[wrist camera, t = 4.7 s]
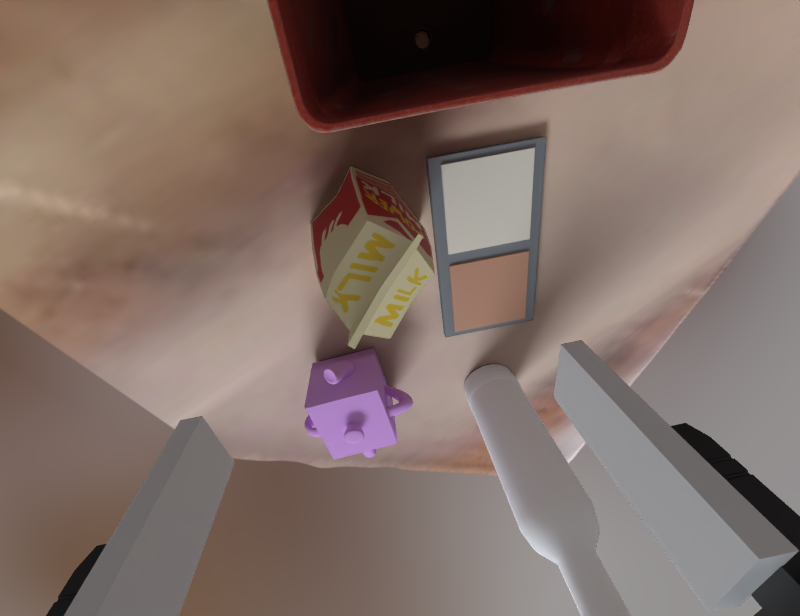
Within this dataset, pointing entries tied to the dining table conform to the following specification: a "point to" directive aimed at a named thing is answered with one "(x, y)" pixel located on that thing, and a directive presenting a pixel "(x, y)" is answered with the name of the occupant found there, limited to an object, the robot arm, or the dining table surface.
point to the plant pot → (461, 51)
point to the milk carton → (370, 255)
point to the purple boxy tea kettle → (353, 404)
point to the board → (487, 233)
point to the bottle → (542, 488)
